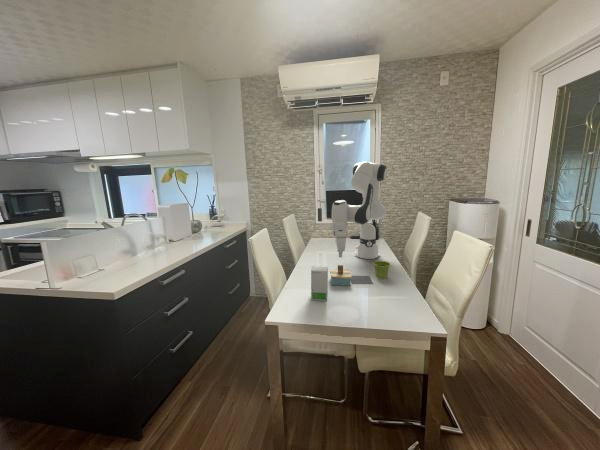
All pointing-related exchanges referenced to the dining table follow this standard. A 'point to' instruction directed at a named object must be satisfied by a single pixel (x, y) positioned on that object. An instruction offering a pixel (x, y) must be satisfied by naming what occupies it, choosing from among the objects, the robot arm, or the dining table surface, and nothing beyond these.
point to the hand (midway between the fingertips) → (339, 254)
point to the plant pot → (381, 269)
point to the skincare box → (319, 283)
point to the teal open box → (341, 282)
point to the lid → (340, 273)
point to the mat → (361, 280)
